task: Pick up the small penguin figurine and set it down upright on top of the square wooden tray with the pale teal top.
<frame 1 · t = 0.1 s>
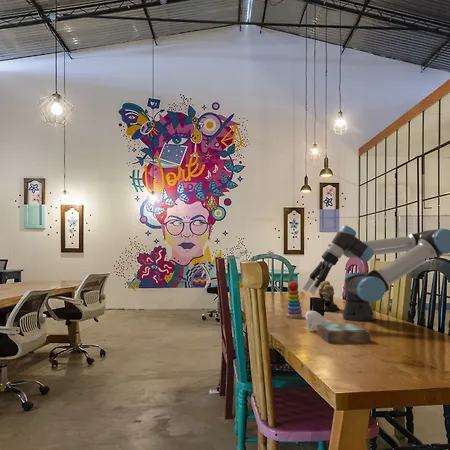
hand: (307, 291, 196), 15 cm above the table, tool tilted 35°, fingers open, 13 cm apart
stacking toy: (294, 317, 216), on the table
square wooden tray: (342, 338, 163), on the table
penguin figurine: (319, 331, 178), on the table
owl figurine: (328, 310, 241), on the table
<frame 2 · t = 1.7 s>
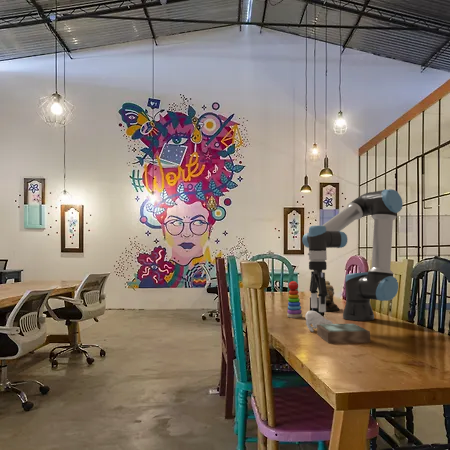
hand: (318, 310, 179), 9 cm above the table, tool pointing down, fingers open, 13 cm apart
nothing on the table moved.
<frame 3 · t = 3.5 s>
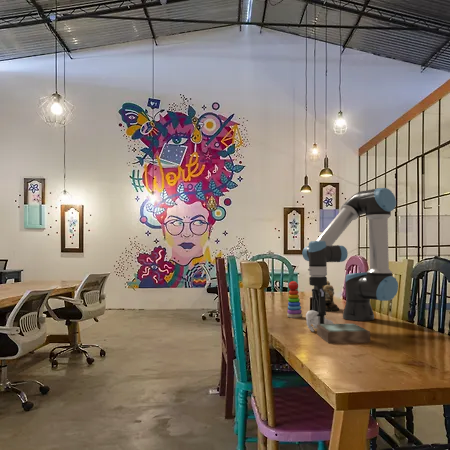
hand: (319, 329, 179), 0 cm above the table, tool pointing down, fingers closed on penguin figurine, 6 cm apart
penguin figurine: (319, 331, 178), on the table, touching gripper
everything else where it was.
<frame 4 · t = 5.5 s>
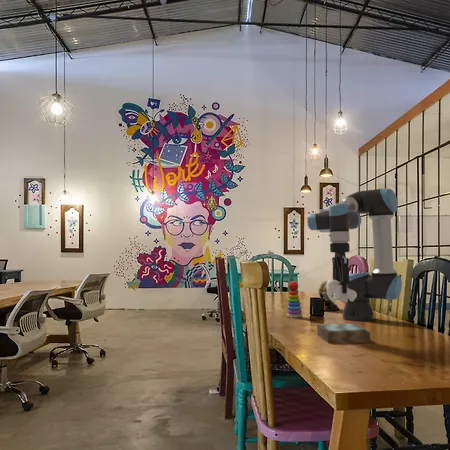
hand: (341, 300, 164), 15 cm above the table, tool pointing down, fingers closed on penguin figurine, 6 cm apart
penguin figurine: (341, 302, 163), point 14 cm above the table, touching gripper
everything else where it was.
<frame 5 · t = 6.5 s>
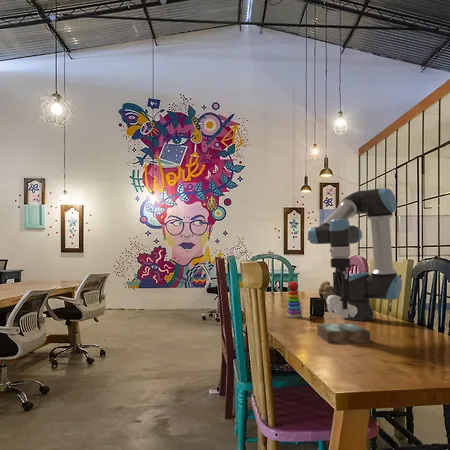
hand: (341, 316, 163), 9 cm above the table, tool pointing down, fingers closed on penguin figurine, 6 cm apart
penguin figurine: (342, 317, 163), point 8 cm above the table, touching gripper
everything else where it was.
when the fingers open (6 cm above the table, at t = 7.3 s): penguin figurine drops 1 cm, resting on square wooden tray.
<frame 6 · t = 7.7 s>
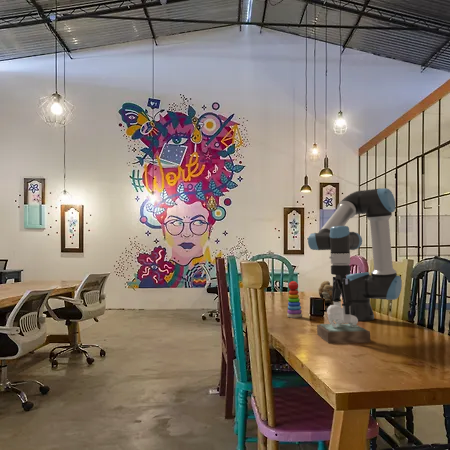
hand: (342, 320, 163), 7 cm above the table, tool pointing down, fingers open, 11 cm apart
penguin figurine: (342, 327, 163), point 4 cm above the table, touching square wooden tray
everything else where it was.
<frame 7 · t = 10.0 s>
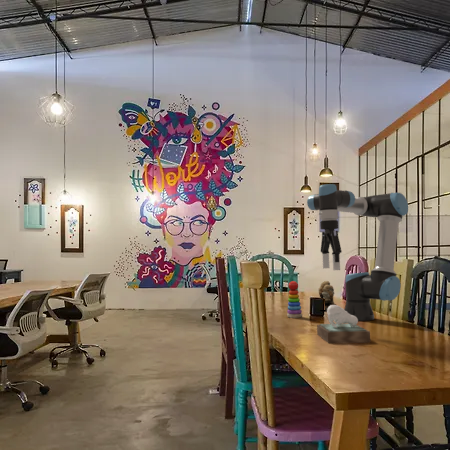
hand: (331, 269, 178), 27 cm above the table, tool pointing down, fingers open, 13 cm apart
nothing on the table moved.
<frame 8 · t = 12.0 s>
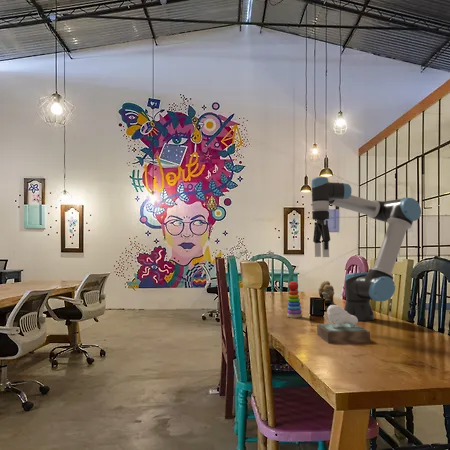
hand: (321, 257, 189), 32 cm above the table, tool pointing down, fingers open, 13 cm apart
nothing on the table moved.
at the end: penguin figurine inside the target area on the square wooden tray (0.3 cm from its centre), point 4.2 cm above the square wooden tray's base; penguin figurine tilted 2°; the gripper is holding nothing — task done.
